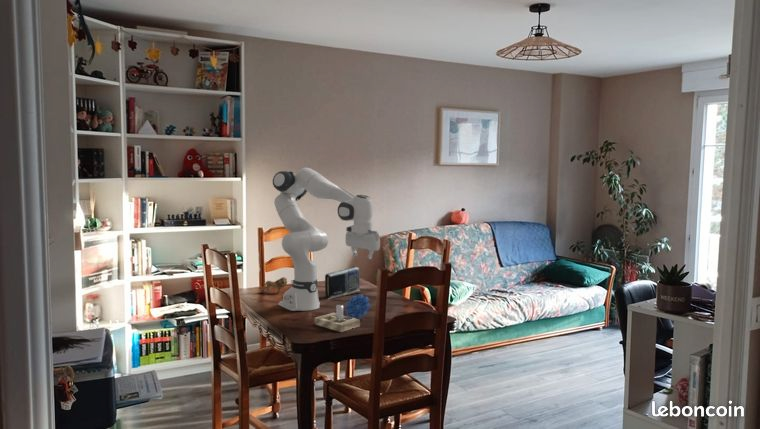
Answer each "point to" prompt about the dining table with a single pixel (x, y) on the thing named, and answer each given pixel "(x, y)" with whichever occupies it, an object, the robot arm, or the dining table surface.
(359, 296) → the grapes
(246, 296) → the dining table surface
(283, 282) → the lion figurine
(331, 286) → the radio
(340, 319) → the plug
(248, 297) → the dining table surface
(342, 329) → the socket block
